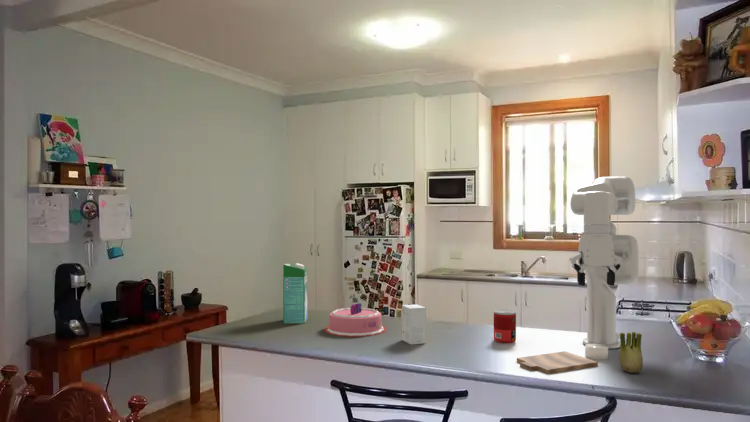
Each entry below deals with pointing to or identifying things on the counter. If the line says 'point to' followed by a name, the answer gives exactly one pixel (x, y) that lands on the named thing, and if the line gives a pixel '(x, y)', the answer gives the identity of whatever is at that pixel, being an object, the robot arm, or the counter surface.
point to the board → (555, 362)
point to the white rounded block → (596, 351)
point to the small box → (414, 324)
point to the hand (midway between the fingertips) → (596, 285)
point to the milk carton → (294, 293)
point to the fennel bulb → (631, 353)
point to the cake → (355, 322)
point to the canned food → (504, 326)
